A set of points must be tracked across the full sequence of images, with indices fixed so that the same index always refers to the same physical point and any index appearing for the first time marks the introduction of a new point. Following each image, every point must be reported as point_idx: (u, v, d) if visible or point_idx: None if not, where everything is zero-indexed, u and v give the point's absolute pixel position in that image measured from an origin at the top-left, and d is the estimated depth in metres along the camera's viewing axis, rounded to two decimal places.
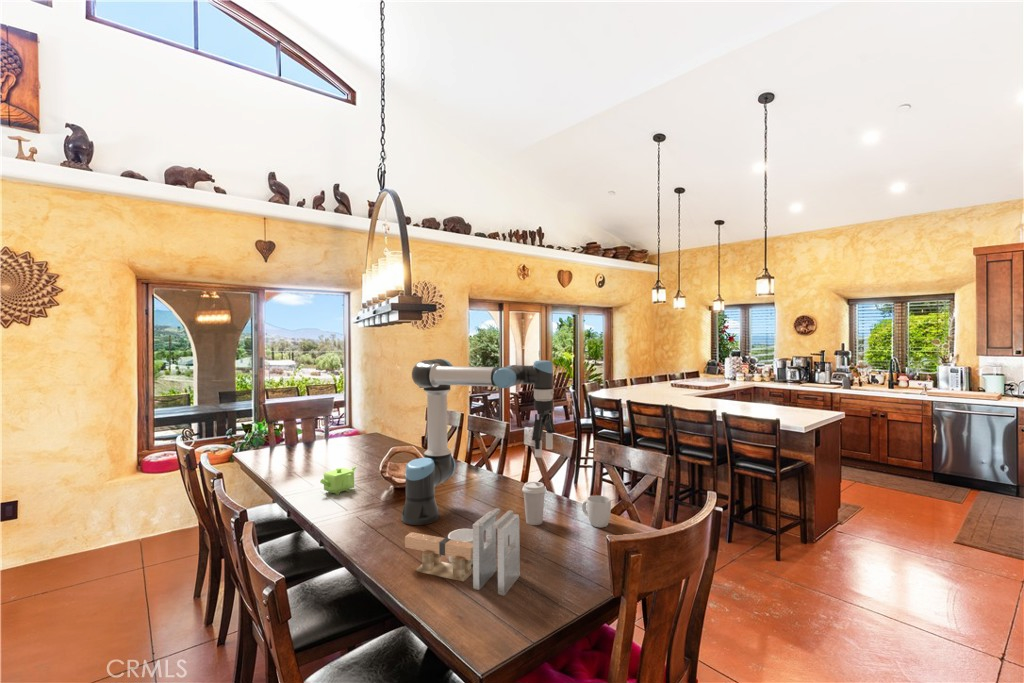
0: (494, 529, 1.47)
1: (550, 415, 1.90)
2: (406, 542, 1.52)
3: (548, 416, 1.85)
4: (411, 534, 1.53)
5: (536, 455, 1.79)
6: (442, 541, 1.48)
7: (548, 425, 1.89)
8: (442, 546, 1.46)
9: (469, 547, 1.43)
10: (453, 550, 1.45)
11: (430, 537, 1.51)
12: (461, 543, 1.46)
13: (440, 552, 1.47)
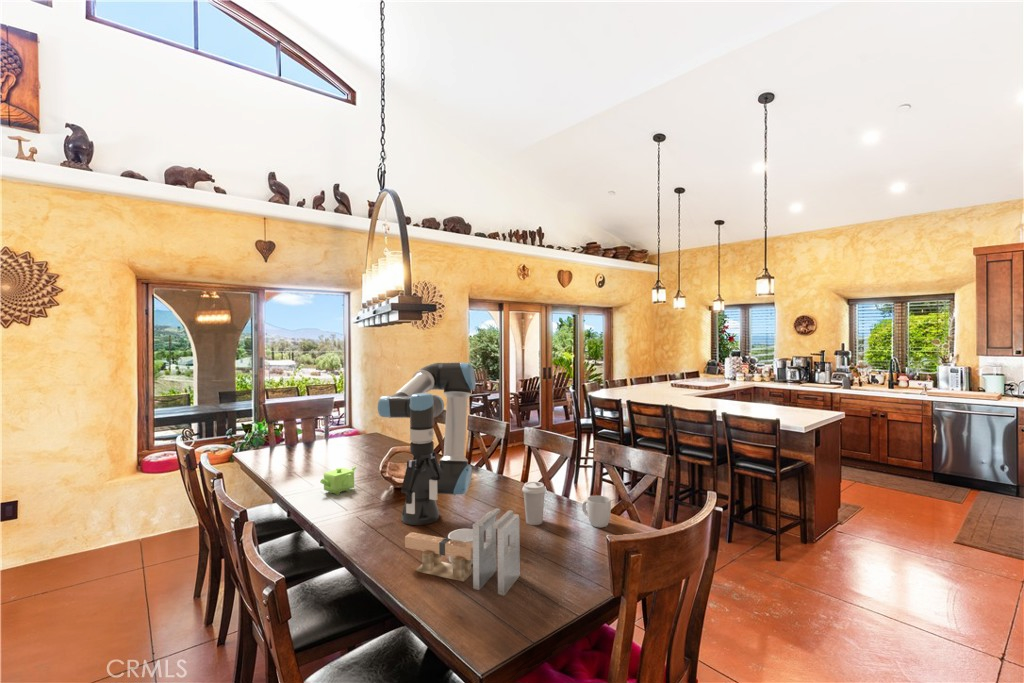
0: (494, 529, 1.47)
1: (434, 459, 1.58)
2: (406, 542, 1.52)
3: (428, 461, 1.53)
4: (411, 534, 1.53)
5: (408, 511, 1.46)
6: (442, 541, 1.48)
7: (430, 471, 1.56)
8: (442, 546, 1.46)
9: (469, 547, 1.43)
10: (453, 550, 1.45)
11: (430, 537, 1.51)
12: (461, 543, 1.46)
13: (440, 552, 1.47)
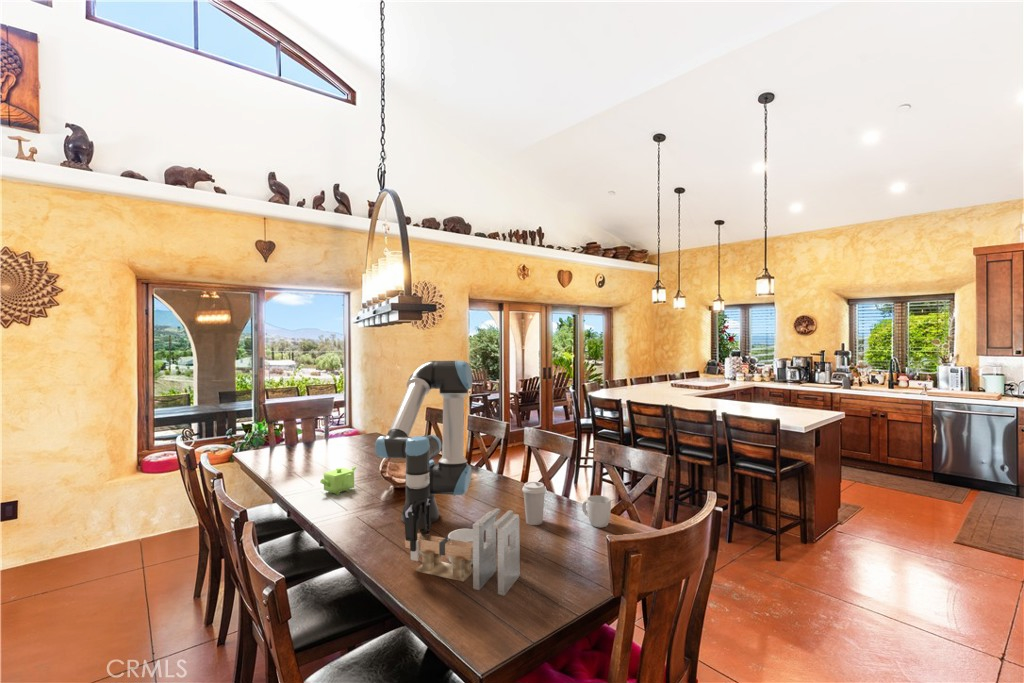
0: (494, 529, 1.47)
1: (428, 506, 1.56)
2: (406, 542, 1.52)
3: (423, 504, 1.52)
4: None
5: (412, 557, 1.50)
6: (442, 541, 1.48)
7: (422, 520, 1.53)
8: (442, 545, 1.46)
9: (469, 547, 1.43)
10: (453, 550, 1.45)
11: (430, 537, 1.51)
12: (461, 543, 1.46)
13: (440, 552, 1.47)
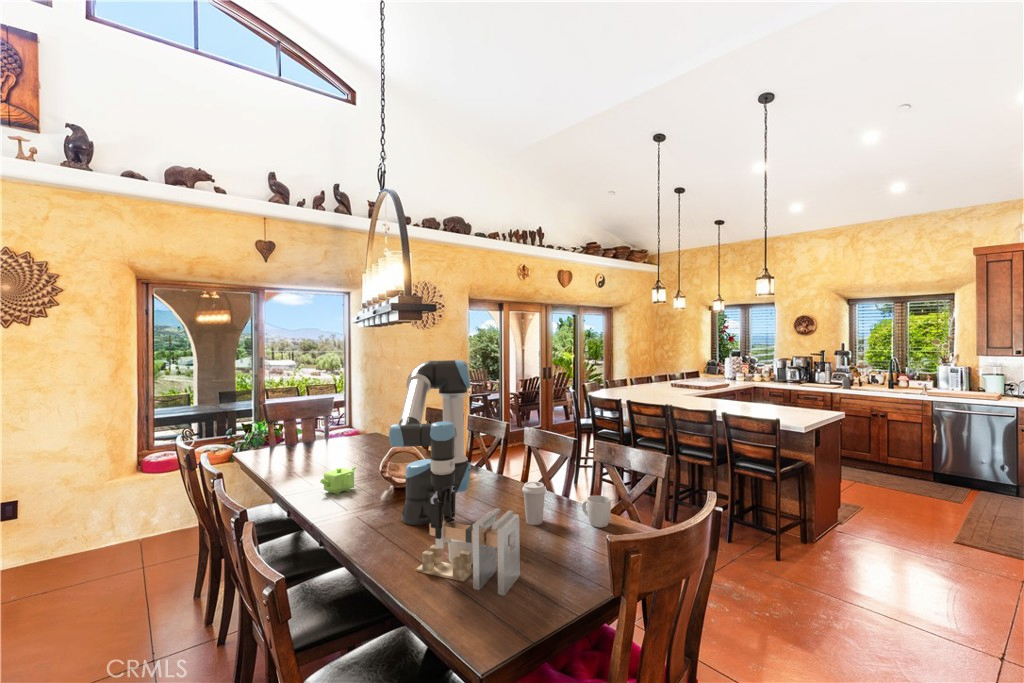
0: (494, 529, 1.47)
1: (453, 493, 1.52)
2: (431, 530, 1.48)
3: (448, 491, 1.48)
4: None
5: (437, 545, 1.46)
6: (468, 528, 1.44)
7: (447, 507, 1.50)
8: (468, 533, 1.43)
9: None
10: None
11: (455, 524, 1.47)
12: (488, 530, 1.42)
13: (466, 540, 1.43)
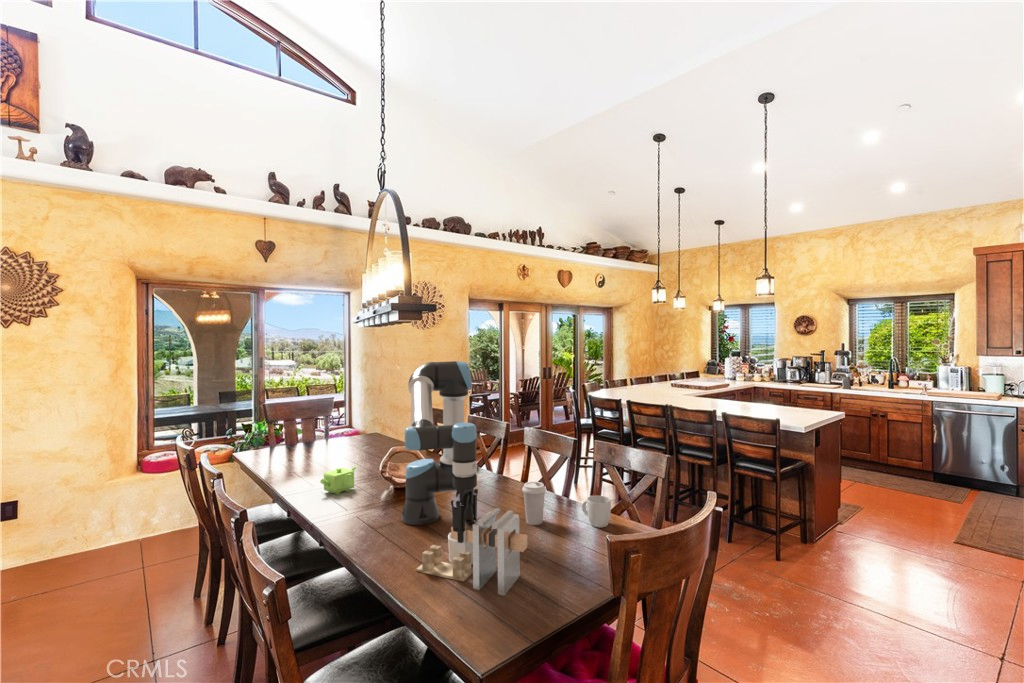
0: None
1: (474, 496, 1.49)
2: (452, 533, 1.45)
3: (470, 494, 1.45)
4: None
5: (459, 549, 1.43)
6: (491, 532, 1.41)
7: (469, 510, 1.46)
8: (491, 537, 1.40)
9: (521, 538, 1.36)
10: None
11: None
12: (512, 534, 1.39)
13: (489, 544, 1.40)
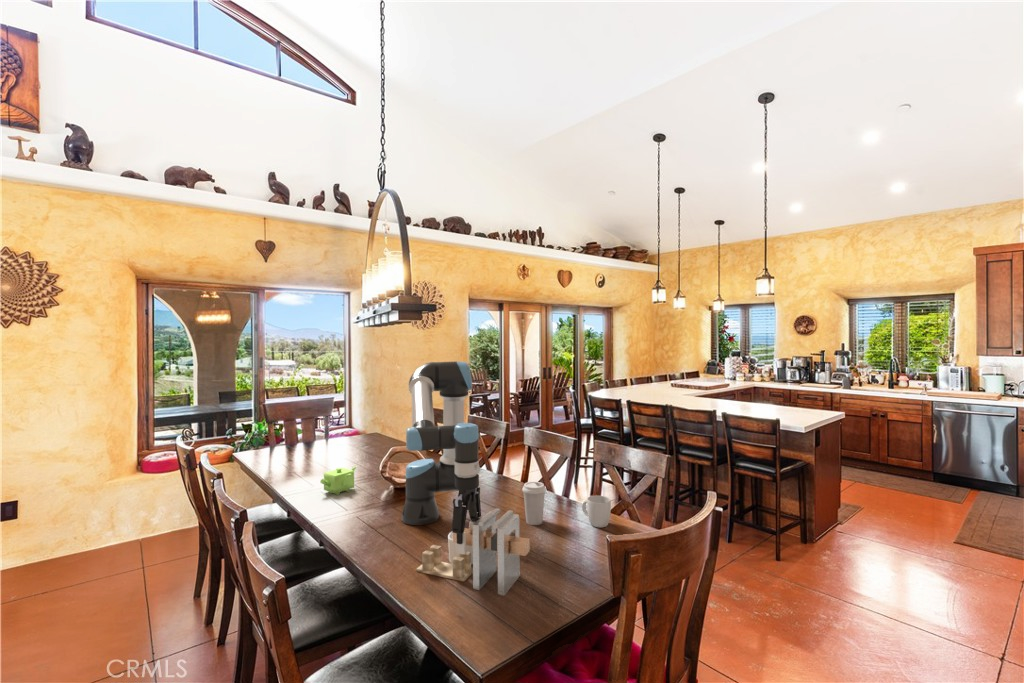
0: (494, 529, 1.47)
1: (477, 494, 1.49)
2: (454, 537, 1.45)
3: (473, 495, 1.45)
4: None
5: (458, 551, 1.41)
6: (493, 536, 1.41)
7: (472, 509, 1.47)
8: (493, 541, 1.39)
9: (524, 542, 1.36)
10: None
11: None
12: (514, 538, 1.39)
13: (491, 548, 1.40)
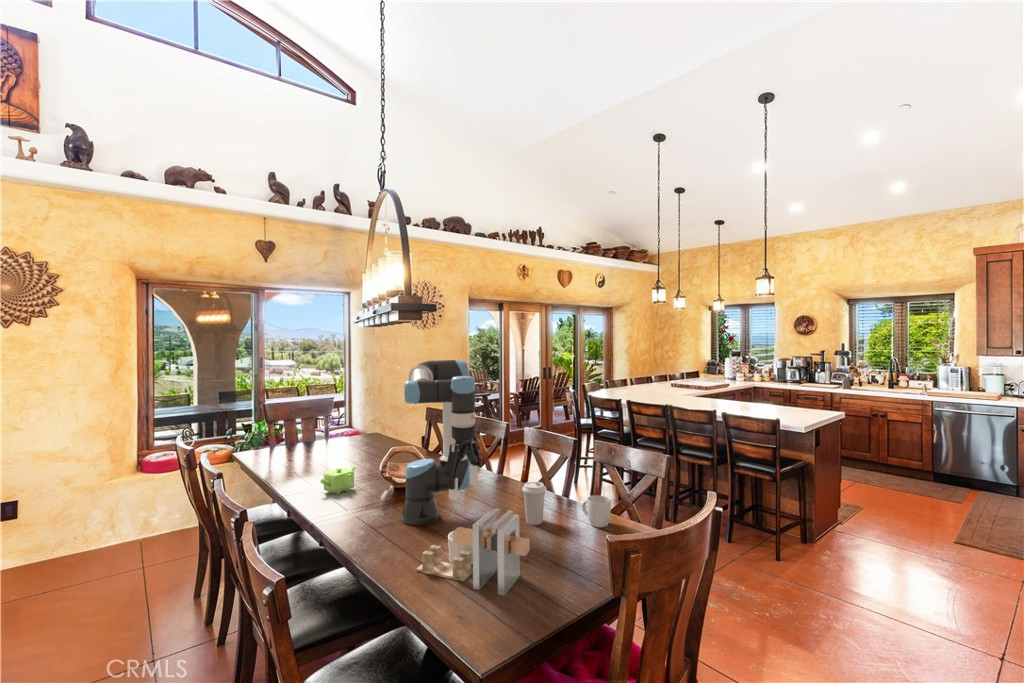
0: (494, 529, 1.47)
1: (474, 443, 1.53)
2: (454, 537, 1.45)
3: (469, 446, 1.48)
4: (459, 528, 1.47)
5: (451, 496, 1.42)
6: (493, 536, 1.41)
7: (471, 456, 1.52)
8: (493, 541, 1.39)
9: (524, 542, 1.36)
10: None
11: None
12: (514, 538, 1.39)
13: (491, 548, 1.40)
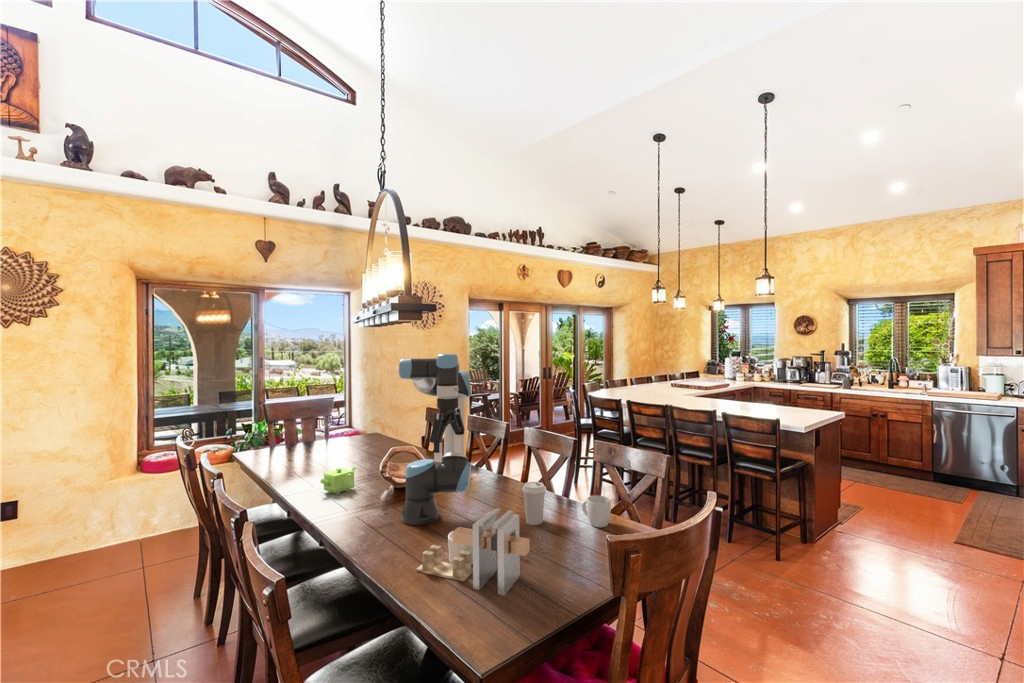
0: (494, 529, 1.47)
1: (458, 415, 1.71)
2: (454, 537, 1.45)
3: (453, 416, 1.66)
4: (459, 528, 1.47)
5: (436, 459, 1.59)
6: (493, 536, 1.41)
7: (455, 426, 1.69)
8: (493, 541, 1.39)
9: (524, 542, 1.36)
10: None
11: None
12: (514, 538, 1.39)
13: (491, 548, 1.40)
